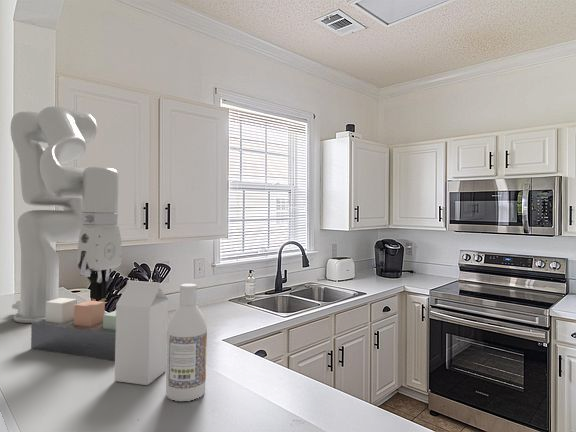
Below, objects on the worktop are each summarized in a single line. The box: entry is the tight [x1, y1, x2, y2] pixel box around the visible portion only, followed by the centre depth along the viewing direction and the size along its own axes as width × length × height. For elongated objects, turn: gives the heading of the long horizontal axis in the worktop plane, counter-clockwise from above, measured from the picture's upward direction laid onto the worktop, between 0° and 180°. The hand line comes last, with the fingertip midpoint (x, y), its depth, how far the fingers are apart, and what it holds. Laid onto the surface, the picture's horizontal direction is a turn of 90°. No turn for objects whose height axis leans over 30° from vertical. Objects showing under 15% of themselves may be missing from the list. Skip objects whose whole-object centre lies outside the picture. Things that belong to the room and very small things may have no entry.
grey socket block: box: [30, 319, 116, 362], centre depth 94 cm, size 23×10×6 cm, turn 76°
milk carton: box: [114, 279, 169, 386], centre depth 79 cm, size 7×7×19 cm
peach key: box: [74, 300, 106, 327], centre depth 94 cm, size 5×5×6 cm
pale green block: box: [103, 310, 116, 330], centre depth 92 cm, size 5×5×6 cm
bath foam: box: [165, 283, 208, 402], centre depth 72 cm, size 7×7×20 cm
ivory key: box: [46, 297, 78, 323], centre depth 96 cm, size 5×5×6 cm
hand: (98, 298), depth 94 cm, fingers closed
